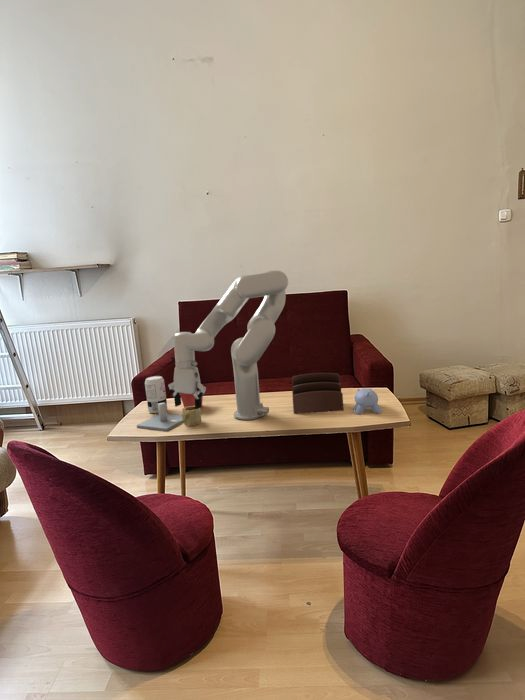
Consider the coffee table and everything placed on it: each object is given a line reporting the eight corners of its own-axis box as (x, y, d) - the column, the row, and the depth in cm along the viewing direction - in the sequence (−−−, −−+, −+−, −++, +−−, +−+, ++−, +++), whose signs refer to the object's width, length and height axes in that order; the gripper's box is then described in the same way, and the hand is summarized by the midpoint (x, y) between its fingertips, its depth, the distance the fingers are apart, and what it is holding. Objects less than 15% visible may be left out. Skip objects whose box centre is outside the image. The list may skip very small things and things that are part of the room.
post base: (190, 418, 184) (188, 399, 183) (166, 431, 171) (164, 411, 170) (161, 415, 191) (159, 397, 190) (136, 427, 178) (134, 408, 177)
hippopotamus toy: (377, 403, 185) (376, 380, 183) (384, 415, 170) (383, 390, 168) (350, 404, 186) (349, 382, 184) (355, 416, 171) (354, 392, 169)
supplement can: (147, 410, 200) (143, 377, 197) (166, 407, 203) (162, 374, 200) (149, 415, 193) (145, 381, 190) (169, 411, 195) (165, 378, 193)
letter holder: (293, 406, 190) (291, 374, 187) (340, 403, 188) (339, 370, 186) (293, 414, 180) (291, 380, 177) (343, 411, 178) (342, 376, 176)
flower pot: (176, 411, 195) (173, 389, 194) (188, 403, 206) (185, 383, 204) (198, 412, 192) (195, 390, 190) (209, 404, 202) (207, 383, 200)
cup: (190, 419, 183) (189, 405, 182) (204, 420, 180) (202, 406, 179) (177, 426, 175) (176, 412, 174) (191, 428, 172) (189, 413, 171)
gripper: (209, 363, 173) (211, 406, 176) (173, 361, 181) (176, 402, 184) (198, 367, 167) (200, 412, 170) (161, 364, 175) (164, 407, 178)
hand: (188, 406), depth 177 cm, fingers open, 9 cm apart
